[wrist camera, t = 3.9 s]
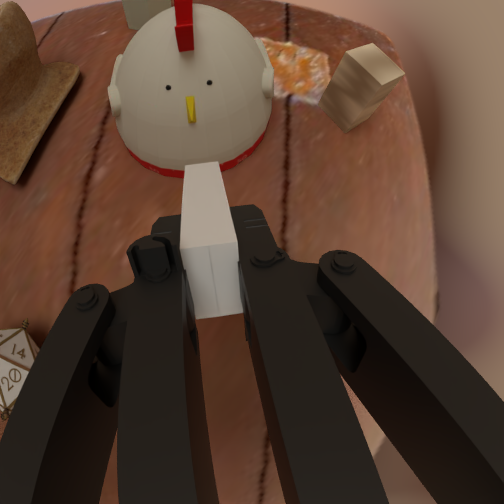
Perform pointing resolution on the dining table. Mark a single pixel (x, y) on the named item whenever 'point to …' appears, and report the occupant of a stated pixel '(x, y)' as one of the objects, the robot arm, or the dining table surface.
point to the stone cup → (26, 91)
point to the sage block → (143, 11)
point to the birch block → (359, 86)
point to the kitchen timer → (192, 90)
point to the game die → (14, 364)
